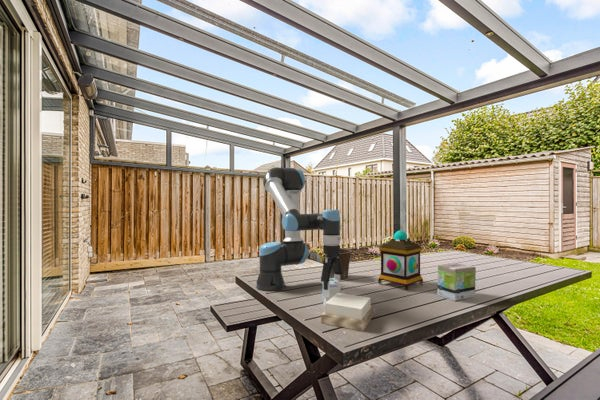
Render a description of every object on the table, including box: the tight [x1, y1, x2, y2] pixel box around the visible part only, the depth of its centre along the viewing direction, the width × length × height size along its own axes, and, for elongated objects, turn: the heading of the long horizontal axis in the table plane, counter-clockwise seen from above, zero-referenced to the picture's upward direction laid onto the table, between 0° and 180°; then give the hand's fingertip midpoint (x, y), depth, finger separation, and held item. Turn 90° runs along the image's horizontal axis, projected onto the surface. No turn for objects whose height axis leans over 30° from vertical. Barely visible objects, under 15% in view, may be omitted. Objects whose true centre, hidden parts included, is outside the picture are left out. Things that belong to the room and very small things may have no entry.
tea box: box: [436, 263, 477, 302], centre depth 145 cm, size 15×10×15 cm
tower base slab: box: [320, 306, 374, 332], centre depth 117 cm, size 16×16×4 cm
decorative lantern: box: [377, 230, 424, 292], centre depth 165 cm, size 20×20×30 cm
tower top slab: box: [324, 292, 372, 320], centre depth 117 cm, size 14×14×4 cm
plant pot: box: [325, 248, 352, 281], centre depth 181 cm, size 16×16×16 cm
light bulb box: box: [321, 278, 342, 307], centre depth 133 cm, size 11×7×11 cm, turn 5°
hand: (332, 292), depth 132 cm, fingers open, 13 cm apart
